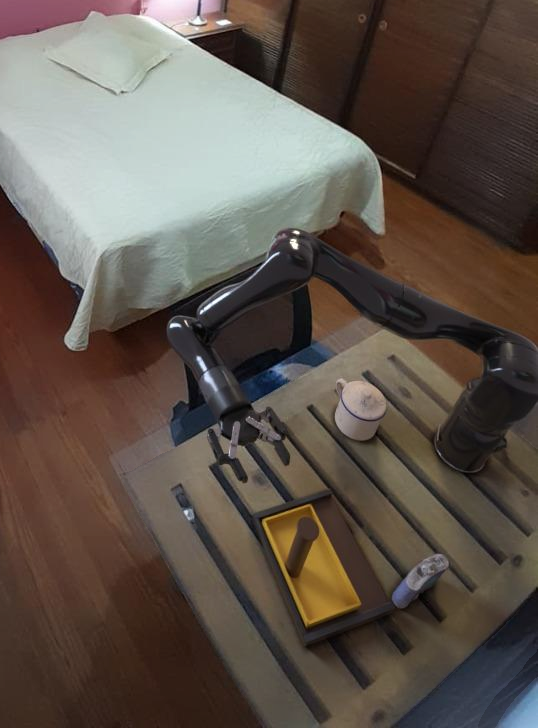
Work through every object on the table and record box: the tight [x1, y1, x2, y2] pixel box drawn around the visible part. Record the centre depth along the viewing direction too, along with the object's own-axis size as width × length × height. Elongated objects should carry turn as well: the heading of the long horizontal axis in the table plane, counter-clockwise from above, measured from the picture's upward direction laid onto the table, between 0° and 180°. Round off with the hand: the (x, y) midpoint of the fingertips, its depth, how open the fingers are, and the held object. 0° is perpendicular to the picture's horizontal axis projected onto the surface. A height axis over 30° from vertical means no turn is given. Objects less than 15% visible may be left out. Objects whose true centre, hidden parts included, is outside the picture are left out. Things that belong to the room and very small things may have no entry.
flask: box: [391, 553, 451, 610], centre depth 91 cm, size 9×3×11 cm, turn 117°
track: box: [251, 488, 396, 647], centre depth 97 cm, size 16×20×2 cm
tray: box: [261, 504, 362, 629], centre depth 91 cm, size 10×16×18 cm, turn 15°
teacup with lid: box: [334, 378, 388, 442], centre depth 116 cm, size 12×9×12 cm
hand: (267, 472), depth 96 cm, fingers open, 8 cm apart
